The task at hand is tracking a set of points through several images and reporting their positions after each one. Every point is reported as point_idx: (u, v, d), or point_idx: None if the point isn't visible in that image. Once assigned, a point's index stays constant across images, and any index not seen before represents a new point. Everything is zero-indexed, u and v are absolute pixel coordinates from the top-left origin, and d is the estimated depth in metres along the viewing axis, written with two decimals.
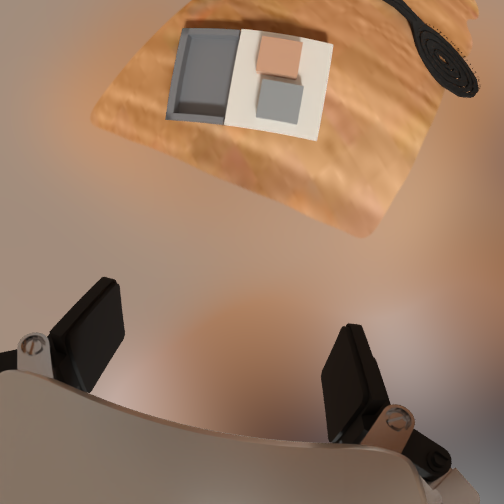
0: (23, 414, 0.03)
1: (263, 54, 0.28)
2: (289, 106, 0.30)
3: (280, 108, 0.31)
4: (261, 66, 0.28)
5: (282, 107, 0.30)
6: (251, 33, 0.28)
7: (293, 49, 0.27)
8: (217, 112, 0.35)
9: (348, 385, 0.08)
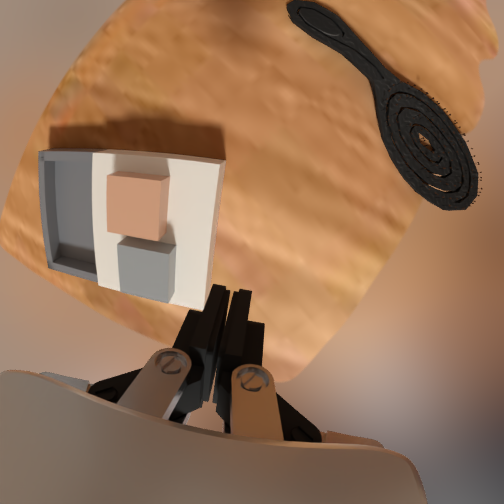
0: (23, 414, 0.03)
1: (112, 207, 0.21)
2: (155, 281, 0.24)
3: (144, 283, 0.24)
4: (112, 226, 0.22)
5: (147, 282, 0.24)
6: (104, 159, 0.22)
7: (148, 195, 0.21)
8: None
9: None
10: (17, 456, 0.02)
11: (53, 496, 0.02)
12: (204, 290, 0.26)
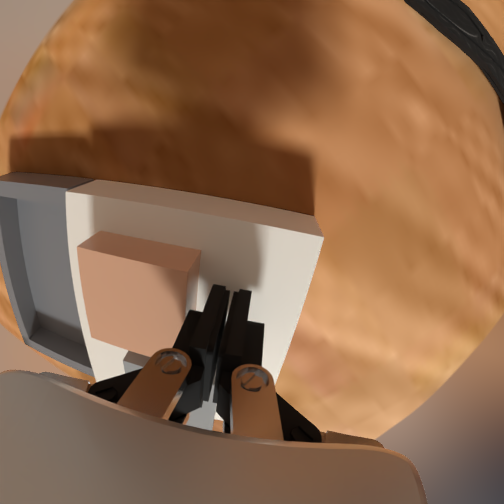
0: (23, 414, 0.03)
1: (93, 303, 0.11)
2: None
3: None
4: (99, 331, 0.12)
5: None
6: (86, 206, 0.11)
7: (161, 295, 0.10)
8: None
9: None
10: (17, 456, 0.02)
11: (53, 496, 0.02)
12: None
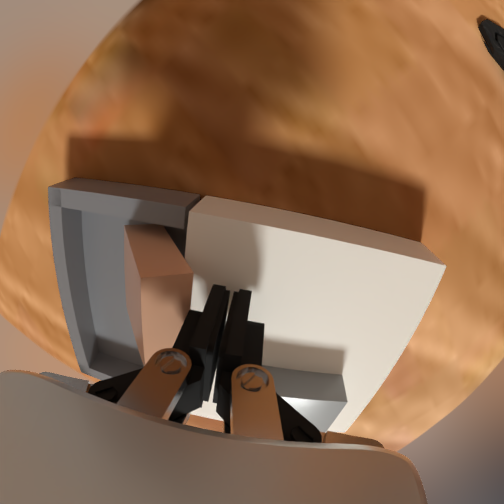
0: (23, 414, 0.03)
1: (125, 277, 0.14)
2: None
3: None
4: (127, 304, 0.14)
5: None
6: (220, 231, 0.11)
7: (136, 292, 0.10)
8: None
9: None
10: (17, 456, 0.02)
11: (53, 496, 0.02)
12: (357, 415, 0.16)
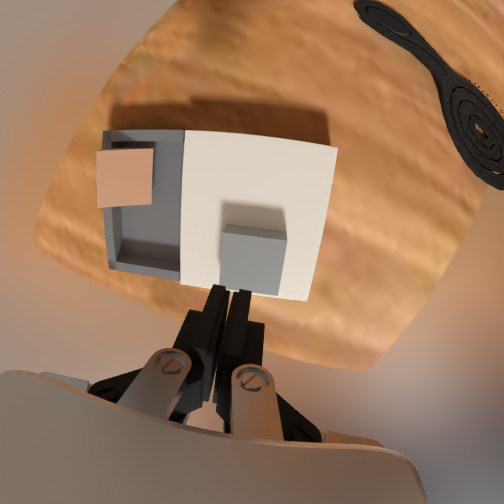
0: (23, 414, 0.03)
1: None
2: (266, 272, 0.23)
3: (252, 276, 0.23)
4: None
5: (255, 274, 0.23)
6: (201, 138, 0.21)
7: None
8: (172, 255, 0.28)
9: None
10: (17, 456, 0.02)
11: (53, 496, 0.02)
12: (311, 279, 0.25)
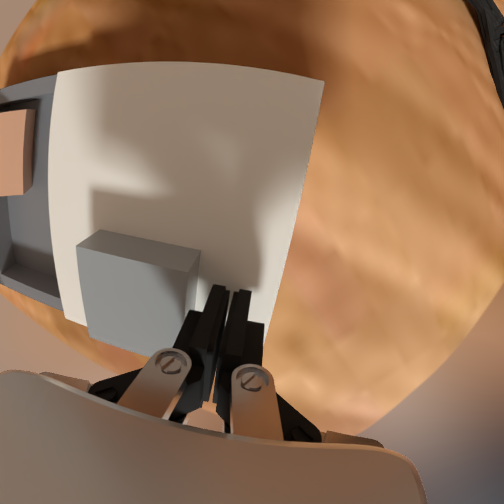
0: (23, 414, 0.03)
1: None
2: (155, 326, 0.11)
3: (134, 328, 0.11)
4: None
5: (138, 327, 0.11)
6: (75, 80, 0.09)
7: None
8: None
9: None
10: (17, 456, 0.02)
11: (53, 496, 0.02)
12: None
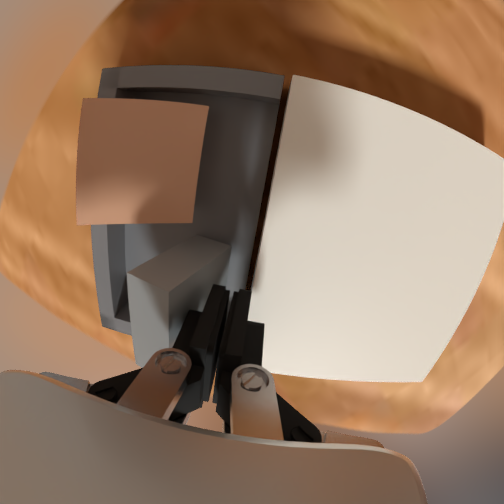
0: (23, 414, 0.03)
1: None
2: None
3: None
4: None
5: None
6: (327, 96, 0.09)
7: None
8: None
9: None
10: (17, 456, 0.02)
11: (53, 496, 0.02)
12: (438, 355, 0.13)
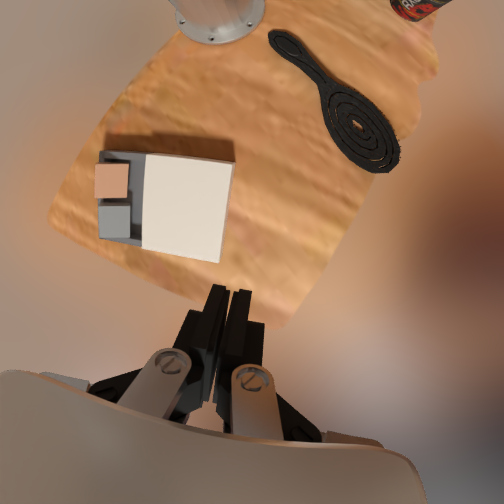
0: (23, 414, 0.03)
1: None
2: None
3: None
4: None
5: None
6: (154, 159, 0.35)
7: None
8: (139, 231, 0.42)
9: None
10: (17, 456, 0.02)
11: (53, 496, 0.02)
12: (220, 248, 0.40)
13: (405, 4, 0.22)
